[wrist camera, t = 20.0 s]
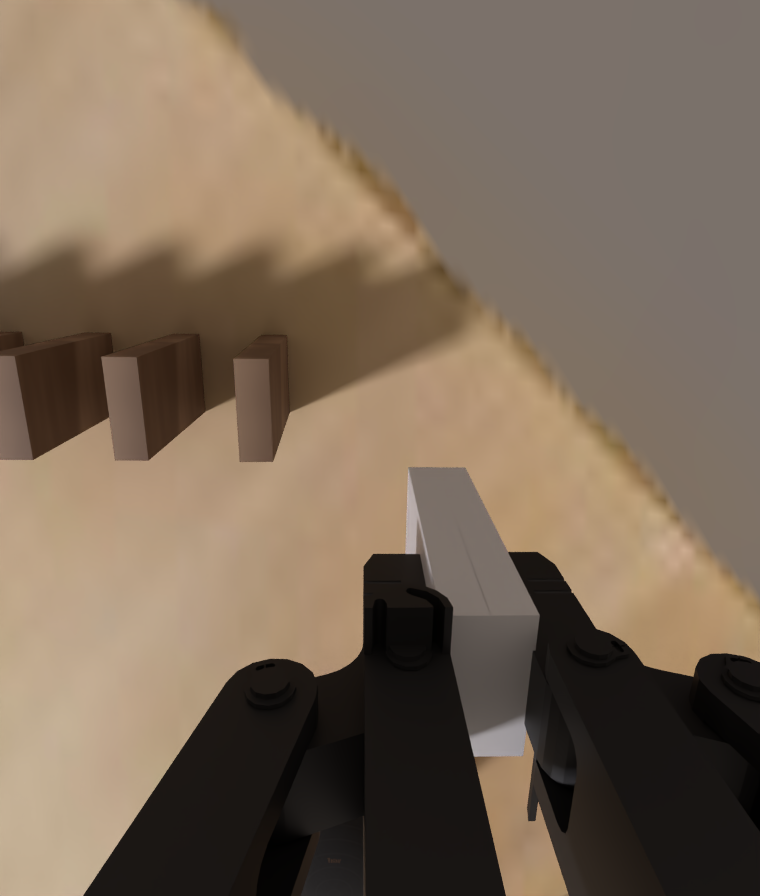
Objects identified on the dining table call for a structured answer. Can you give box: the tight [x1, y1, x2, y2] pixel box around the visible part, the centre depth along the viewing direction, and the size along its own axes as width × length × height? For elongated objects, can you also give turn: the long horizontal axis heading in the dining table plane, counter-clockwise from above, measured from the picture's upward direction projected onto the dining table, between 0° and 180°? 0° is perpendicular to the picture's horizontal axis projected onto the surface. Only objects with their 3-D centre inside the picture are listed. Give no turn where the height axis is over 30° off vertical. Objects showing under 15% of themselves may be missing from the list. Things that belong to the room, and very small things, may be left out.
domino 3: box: [233, 335, 290, 462], centre depth 31 cm, size 2×5×10 cm, turn 179°
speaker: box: [301, 816, 364, 896], centre depth 41 cm, size 10×10×10 cm
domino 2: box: [101, 334, 205, 461], centre depth 31 cm, size 2×5×10 cm, turn 179°
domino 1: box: [0, 333, 113, 460], centre depth 31 cm, size 2×5×10 cm, turn 179°
